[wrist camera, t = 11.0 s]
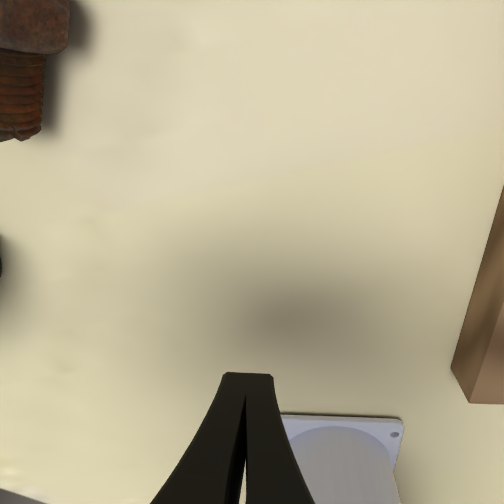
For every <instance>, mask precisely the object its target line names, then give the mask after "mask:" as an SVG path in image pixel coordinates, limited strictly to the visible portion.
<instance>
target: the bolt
mask: <svg viewBox="0 0 504 504" xmlns="http://www.w3.org/2000/svg"><path fill="white" fill-rule="evenodd" d="M69 20H70V5H69V0H0V142H3V141H7V140H10V139H13V138H16V139H17V140H19V141H24V140H27V139H29V138H30V137H31V136H33V135H35V134H37V133H39V132H40V130H41V126H40V123H41V122H42V118H41V115H42V110H41V106H42V105H43V104H42V101H41V99H42V98H43V93H42V92H41V91H42V90H43V84H42V83H41V82H42V81H43V80H44V76H43V74H42V73H43V72H44V69H45V67H44V66H43V65H42V64H43V63H44V62H45V61H46V60H45V58H44V56H43V54H54V53H58V52H61V51H62V50H64V49H65V48H66V46H67V42H68V31H69Z"/></svg>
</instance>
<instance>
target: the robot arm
mask: <svg viewBox="0 0 504 504" xmlns="http://www.w3.org/2000/svg"><path fill="white" fill-rule="evenodd" d="M403 431H404V426H403V423H402V421H401V420H399V419H389V418H362V417H335V416H307V415H280V411H279V408H278V404H277V399H276V395H275V389H274V381H273V377H272V376H271V375H270V374H258V373H236V372H226V373H225V374H224V375H223V377H222V380H221V383H220V386H219V388H218V391H217V393H216V395H215V398H214V400H213V402H212V404H211V406H210V408H209V410H208V412H207V414H206V416H205V418H204V420H203V422H202V424H201V425H200V427H199V429H198V431H197V433H196V435H195V436H194V438H193V440H192V442H191V443H190V445H189V446H188V448H187V450H186V451H185V453H184V455H183V456H182V458H181V460H180V461H179V463H178V464H177V466H176V467H175V469H174V470H173V472H172V473H171V475H170V476H169V478H168V479H167V481H166V482H165V484H164V485H163V486H162V488H161V489H160V491H159V492H158V493H157V495H156V496H155V498H154V499H153V500H152V502H151V503H150V504H239V499H240V493H241V486H242V480H243V473H244V467H245V460H246V504H401V500H400V496H399V492H398V489H397V485H396V481H395V477H394V474H393V472H394V468H395V464H396V460H397V456H398V452H399V447H400V443H401V439H402V435H403Z"/></svg>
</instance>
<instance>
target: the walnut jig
mask: <svg viewBox="0 0 504 504" xmlns="http://www.w3.org/2000/svg"><path fill="white" fill-rule="evenodd" d="M451 370H452V371H453V373H454V375H455V377H456V379H457V381H458V383H459V385H460V387H461V389H462V391H463V393H464V395H465V396H466V398H467V400H468V402H469V403H475V404H504V187H503V191H502V194H501V198H500V201H499V205H498V208H497V211H496V215H495V218H494V222H493V225H492V228H491V232H490V235H489V239H488V242H487V245H486V249H485V252H484V256H483V259H482V263H481V266H480V269H479V273H478V276H477V280H476V283H475V286H474V290H473V293H472V297H471V300H470V304H469V307H468V310H467V314H466V317H465V321H464V324H463V327H462V331H461V334H460V338H459V341H458V345H457V348H456V351H455V355H454V358H453V362H452V365H451Z"/></svg>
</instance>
